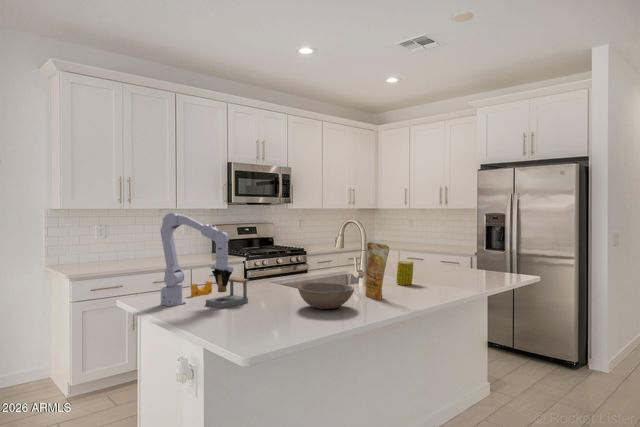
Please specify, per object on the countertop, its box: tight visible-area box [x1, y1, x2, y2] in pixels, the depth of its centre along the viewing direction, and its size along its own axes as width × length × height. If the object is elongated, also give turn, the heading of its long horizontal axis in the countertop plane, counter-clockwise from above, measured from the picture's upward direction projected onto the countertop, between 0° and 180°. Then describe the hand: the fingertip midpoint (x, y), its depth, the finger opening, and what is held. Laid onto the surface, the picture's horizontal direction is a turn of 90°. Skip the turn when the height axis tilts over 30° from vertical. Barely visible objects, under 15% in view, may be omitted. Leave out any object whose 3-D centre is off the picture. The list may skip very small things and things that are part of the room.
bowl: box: [297, 282, 355, 310], centre depth 204 cm, size 26×26×10 cm
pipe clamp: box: [190, 280, 213, 297], centre depth 235 cm, size 12×4×6 cm, turn 146°
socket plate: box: [205, 276, 250, 309], centre depth 212 cm, size 16×13×12 cm
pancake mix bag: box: [365, 241, 390, 301], centre depth 227 cm, size 7×19×28 cm, turn 22°
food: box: [395, 260, 414, 286], centre depth 264 cm, size 15×12×10 cm
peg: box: [217, 274, 227, 293], centre depth 209 cm, size 4×4×8 cm
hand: (222, 285), depth 209 cm, fingers closed on peg, 4 cm apart
